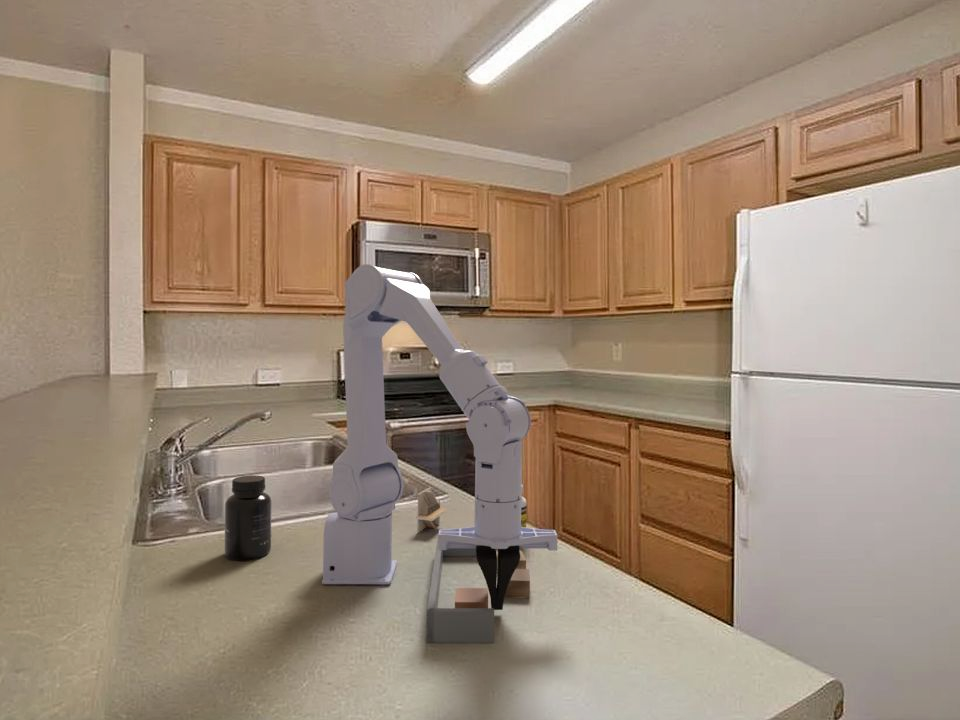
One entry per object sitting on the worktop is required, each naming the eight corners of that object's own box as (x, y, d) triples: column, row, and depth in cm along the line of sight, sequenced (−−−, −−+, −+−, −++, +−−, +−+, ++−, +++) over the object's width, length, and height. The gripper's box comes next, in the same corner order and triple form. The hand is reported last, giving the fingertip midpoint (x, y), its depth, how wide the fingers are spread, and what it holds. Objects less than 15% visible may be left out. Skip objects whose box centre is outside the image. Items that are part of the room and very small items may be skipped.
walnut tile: (499, 598, 74) (499, 579, 74) (500, 585, 78) (500, 568, 78) (529, 599, 74) (530, 581, 74) (528, 587, 78) (529, 569, 78)
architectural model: (447, 528, 104) (447, 488, 104) (432, 540, 98) (432, 497, 97) (430, 526, 105) (430, 486, 105) (414, 537, 99) (414, 495, 98)
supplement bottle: (214, 557, 87) (214, 480, 86) (247, 543, 93) (248, 471, 93) (248, 564, 84) (248, 485, 84) (280, 550, 90) (281, 475, 90)
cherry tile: (454, 622, 67) (454, 602, 67) (455, 607, 71) (456, 587, 71) (488, 623, 67) (488, 602, 67) (487, 607, 71) (487, 588, 71)
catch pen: (426, 642, 62) (426, 611, 62) (438, 554, 89) (438, 532, 89) (493, 642, 63) (494, 611, 63) (485, 554, 90) (485, 532, 90)
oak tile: (498, 578, 81) (498, 560, 81) (495, 567, 85) (495, 550, 85) (525, 577, 81) (526, 560, 81) (521, 566, 85) (521, 550, 85)
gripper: (437, 505, 65) (436, 621, 65) (562, 506, 65) (560, 621, 65) (440, 490, 72) (438, 595, 72) (553, 490, 72) (551, 595, 72)
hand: (496, 606), depth 69 cm, fingers closed
